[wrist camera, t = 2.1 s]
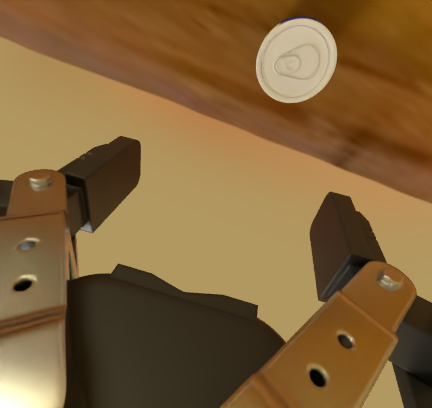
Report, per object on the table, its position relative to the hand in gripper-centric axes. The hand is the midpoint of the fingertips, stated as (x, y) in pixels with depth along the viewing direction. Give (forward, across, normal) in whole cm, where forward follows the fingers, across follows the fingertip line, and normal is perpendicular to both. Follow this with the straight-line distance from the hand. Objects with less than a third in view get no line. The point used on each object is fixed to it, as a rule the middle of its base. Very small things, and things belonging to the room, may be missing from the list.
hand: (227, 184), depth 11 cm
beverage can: (+27, -2, -4) cm, 28 cm away
